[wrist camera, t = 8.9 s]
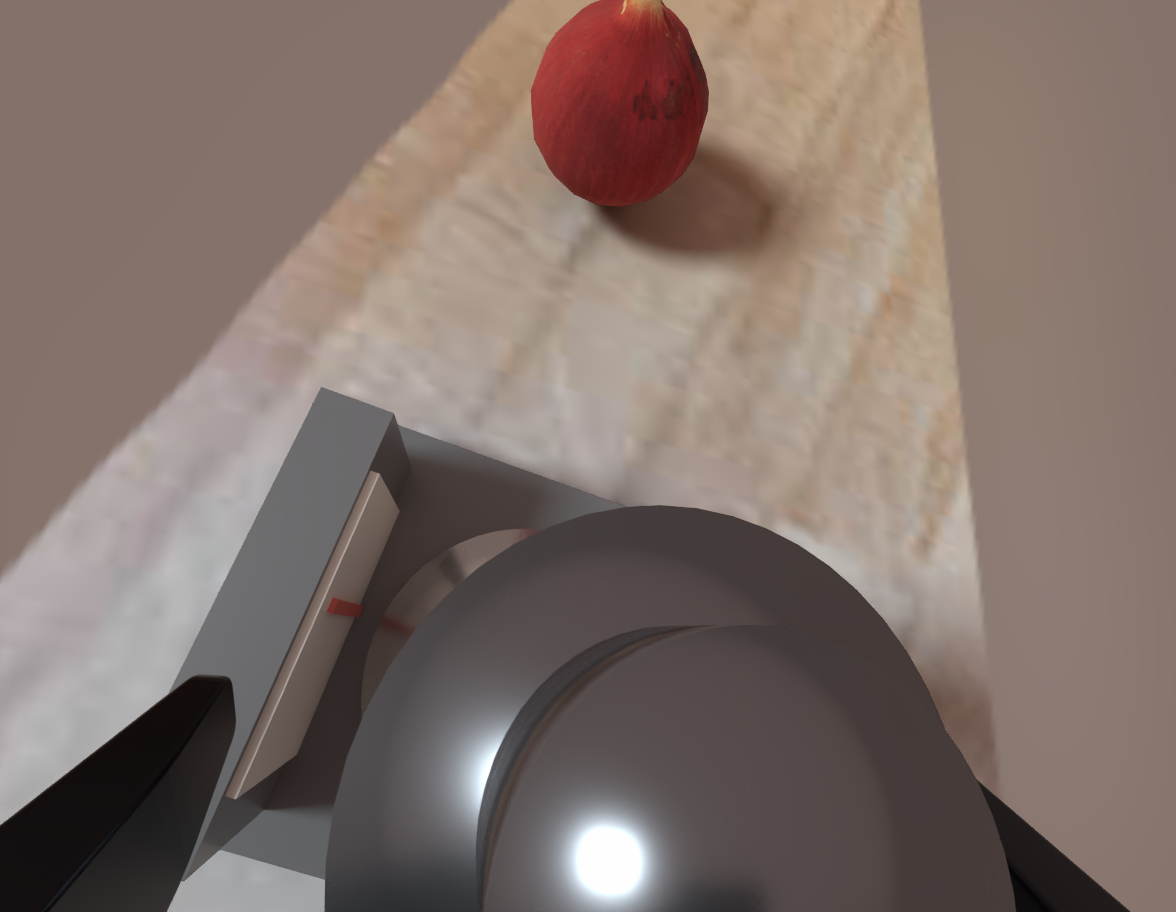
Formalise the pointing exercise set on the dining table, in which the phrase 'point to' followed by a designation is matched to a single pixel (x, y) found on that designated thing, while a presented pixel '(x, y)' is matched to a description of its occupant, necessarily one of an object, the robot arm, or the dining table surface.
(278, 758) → the scale
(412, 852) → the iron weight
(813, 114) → the dining table surface
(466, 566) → the scale pan
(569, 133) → the onion
